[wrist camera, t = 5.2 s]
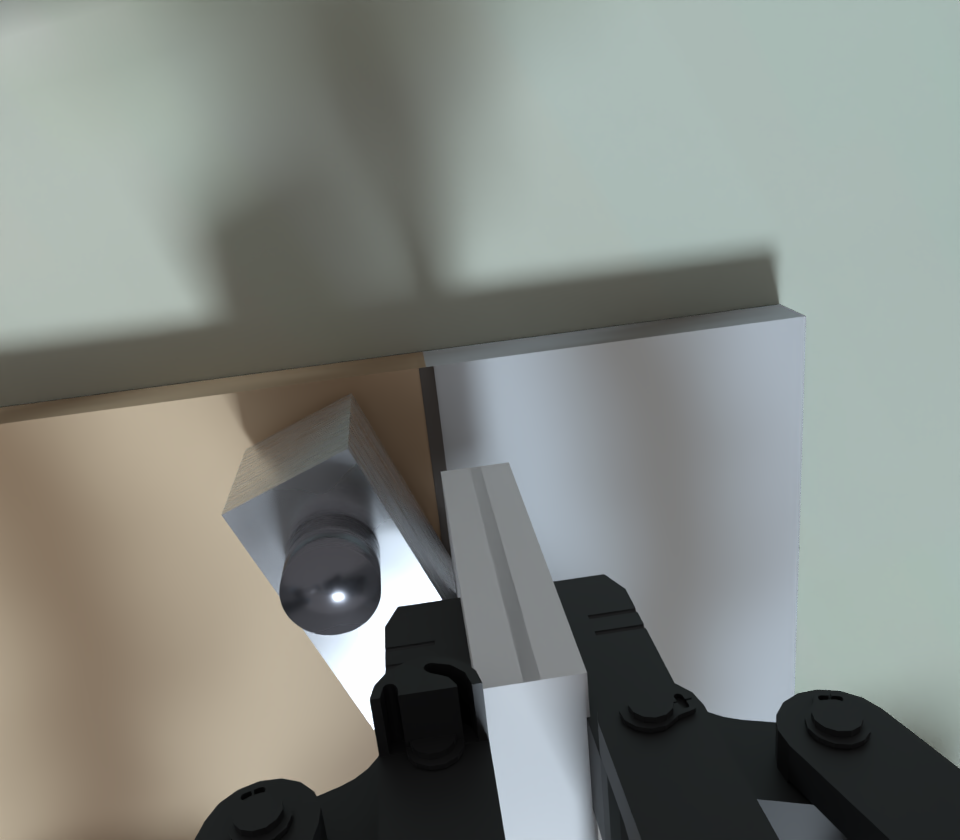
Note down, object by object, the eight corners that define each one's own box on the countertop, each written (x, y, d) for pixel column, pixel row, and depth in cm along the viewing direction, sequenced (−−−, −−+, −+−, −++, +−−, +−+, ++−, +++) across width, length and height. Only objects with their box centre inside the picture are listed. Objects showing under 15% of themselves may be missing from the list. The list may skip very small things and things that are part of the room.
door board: (-195, 998, 22) (-378, 1286, 17) (-480, 471, 17) (-881, 639, 11) (770, 823, 24) (885, 1028, 19) (780, 304, 19) (944, 380, 14)
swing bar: (561, 741, 20) (607, 890, 16) (472, 785, 21) (496, 944, 17) (351, 393, 17) (346, 477, 13) (245, 449, 17) (208, 549, 13)
